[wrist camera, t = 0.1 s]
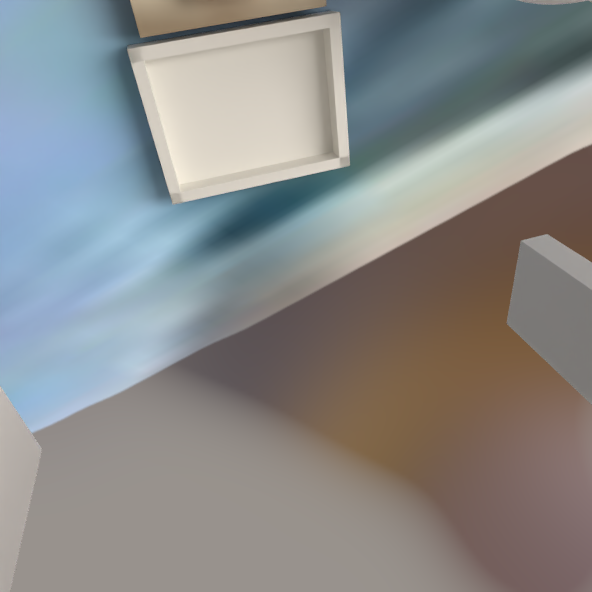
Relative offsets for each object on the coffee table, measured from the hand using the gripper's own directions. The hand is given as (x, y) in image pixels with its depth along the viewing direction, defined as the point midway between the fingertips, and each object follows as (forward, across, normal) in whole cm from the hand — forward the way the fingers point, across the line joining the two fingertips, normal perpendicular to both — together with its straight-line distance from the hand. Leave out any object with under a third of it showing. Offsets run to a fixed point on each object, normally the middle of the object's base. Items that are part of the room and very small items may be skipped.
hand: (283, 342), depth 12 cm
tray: (+28, +4, -1) cm, 28 cm away
